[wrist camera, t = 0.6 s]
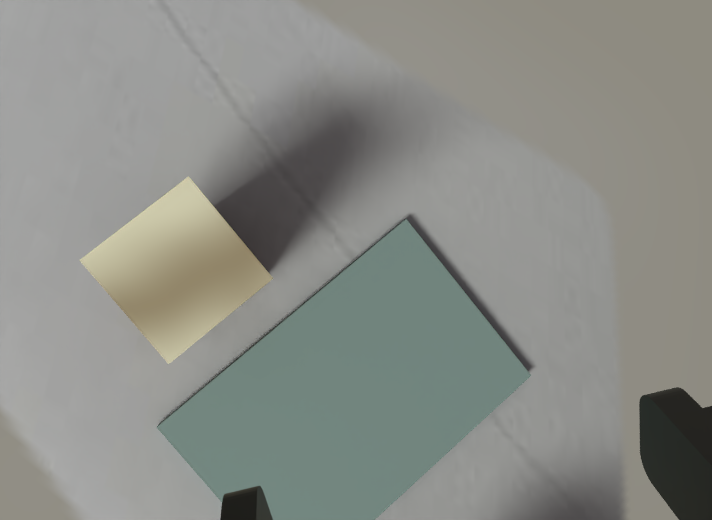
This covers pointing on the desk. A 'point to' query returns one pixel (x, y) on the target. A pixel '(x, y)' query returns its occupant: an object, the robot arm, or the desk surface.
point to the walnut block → (177, 269)
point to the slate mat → (351, 390)
